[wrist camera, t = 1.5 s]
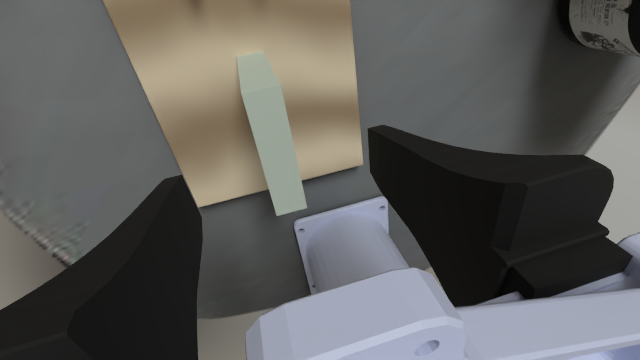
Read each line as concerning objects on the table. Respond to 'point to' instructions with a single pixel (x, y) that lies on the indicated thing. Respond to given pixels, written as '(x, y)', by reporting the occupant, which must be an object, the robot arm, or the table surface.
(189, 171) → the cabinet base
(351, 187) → the table surface
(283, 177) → the pale green flat block
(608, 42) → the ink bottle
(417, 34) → the table surface
